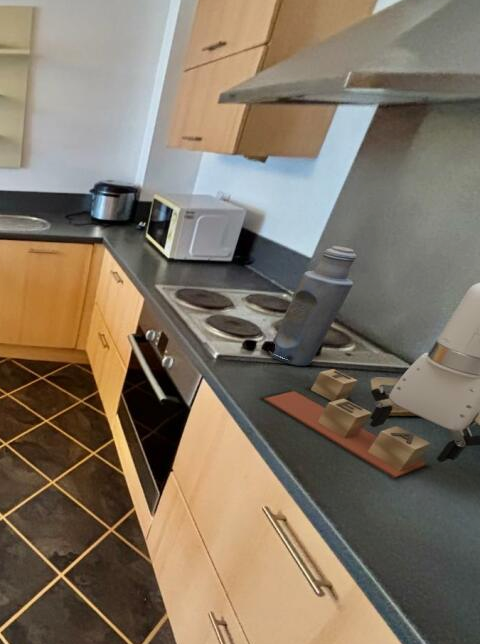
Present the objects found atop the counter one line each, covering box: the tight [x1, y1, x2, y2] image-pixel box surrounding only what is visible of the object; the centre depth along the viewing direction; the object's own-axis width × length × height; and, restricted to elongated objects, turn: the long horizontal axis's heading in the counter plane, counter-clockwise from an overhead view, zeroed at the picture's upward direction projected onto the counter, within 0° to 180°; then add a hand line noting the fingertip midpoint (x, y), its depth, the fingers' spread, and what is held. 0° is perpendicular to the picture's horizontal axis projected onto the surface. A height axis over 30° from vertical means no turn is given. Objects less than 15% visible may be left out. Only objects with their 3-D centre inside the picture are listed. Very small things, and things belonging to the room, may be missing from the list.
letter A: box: [368, 425, 431, 471], centre depth 75 cm, size 5×5×5 cm
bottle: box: [268, 245, 358, 367], centre depth 104 cm, size 10×10×30 cm
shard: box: [385, 392, 419, 417], centre depth 92 cm, size 11×8×2 cm
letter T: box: [310, 368, 358, 402], centre depth 95 cm, size 5×5×5 cm
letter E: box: [318, 399, 373, 438], centre depth 82 cm, size 5×5×5 cm
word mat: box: [263, 390, 427, 479], centre depth 84 cm, size 24×10×1 cm, turn 22°
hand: (407, 441), depth 74 cm, fingers open, 9 cm apart
